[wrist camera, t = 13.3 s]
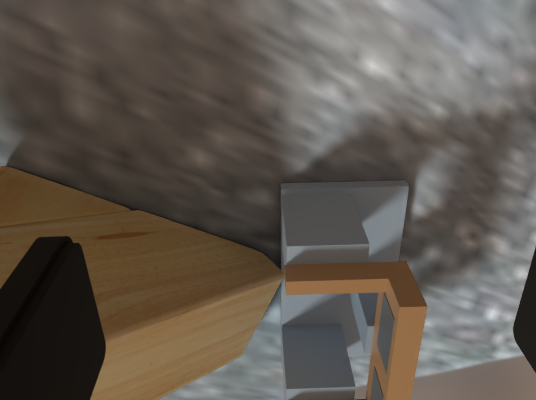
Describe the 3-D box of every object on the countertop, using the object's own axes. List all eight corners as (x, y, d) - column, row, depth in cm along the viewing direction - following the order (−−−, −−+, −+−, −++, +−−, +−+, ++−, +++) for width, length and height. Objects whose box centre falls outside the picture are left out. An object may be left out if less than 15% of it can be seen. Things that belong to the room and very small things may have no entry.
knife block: (-118, 114, 39) (-976, 530, 12) (284, 253, 46) (330, 703, 19) (-126, 226, 44) (-746, 704, 17) (240, 335, 51) (226, 789, 24)
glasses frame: (406, 261, 36) (428, 306, 32) (385, 407, 44) (400, 460, 39) (284, 264, 36) (288, 310, 32) (284, 411, 44) (287, 464, 39)
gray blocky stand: (405, 180, 43) (439, 235, 35) (383, 347, 52) (406, 420, 45) (280, 183, 43) (286, 239, 35) (280, 350, 52) (286, 424, 44)
